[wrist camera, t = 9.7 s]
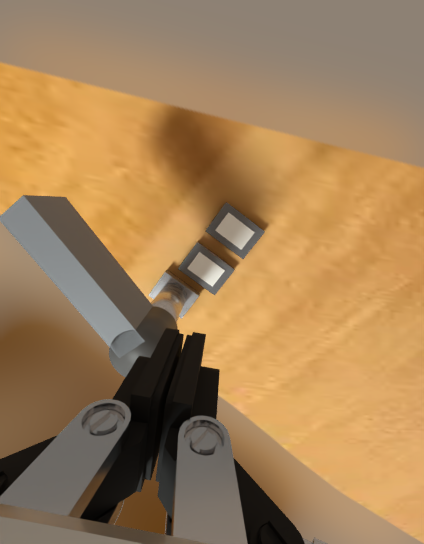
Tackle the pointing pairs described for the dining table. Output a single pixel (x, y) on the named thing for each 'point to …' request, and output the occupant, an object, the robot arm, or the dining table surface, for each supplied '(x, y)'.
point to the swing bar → (88, 277)
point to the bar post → (173, 295)
